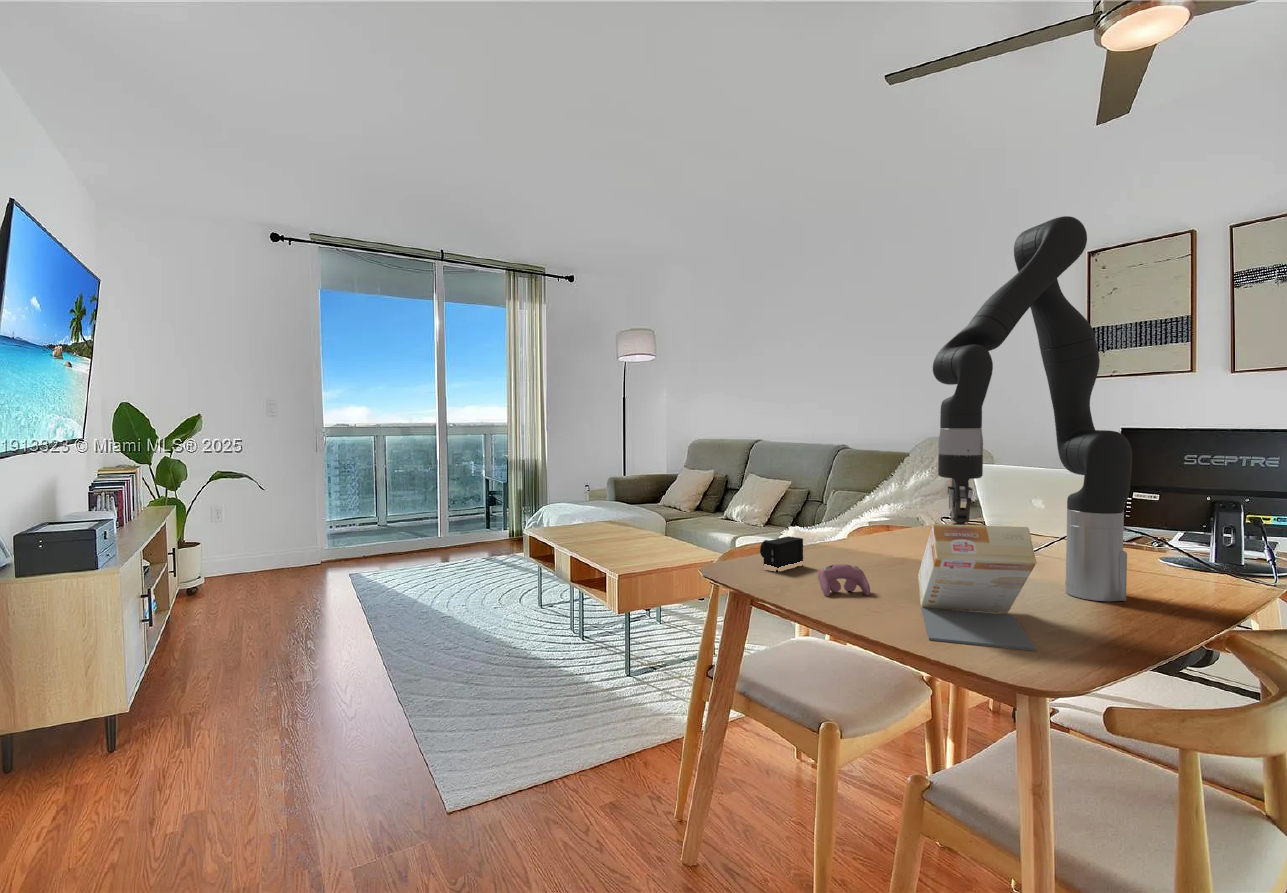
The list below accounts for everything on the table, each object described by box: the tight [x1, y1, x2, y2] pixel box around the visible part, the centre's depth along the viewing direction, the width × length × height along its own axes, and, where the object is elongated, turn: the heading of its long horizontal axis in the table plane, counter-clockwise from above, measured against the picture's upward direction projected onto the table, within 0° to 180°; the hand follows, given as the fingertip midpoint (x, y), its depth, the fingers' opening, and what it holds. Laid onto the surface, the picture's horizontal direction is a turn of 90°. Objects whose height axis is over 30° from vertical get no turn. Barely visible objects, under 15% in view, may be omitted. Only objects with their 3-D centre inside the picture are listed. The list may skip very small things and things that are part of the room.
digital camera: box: [759, 535, 804, 568], centre depth 152 cm, size 10×5×7 cm, turn 132°
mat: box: [920, 606, 1037, 652], centre depth 107 cm, size 15×18×1 cm
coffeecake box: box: [917, 523, 1037, 614], centre depth 110 cm, size 15×7×20 cm
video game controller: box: [817, 563, 871, 597], centre depth 129 cm, size 10×5×7 cm, turn 93°
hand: (958, 543), depth 118 cm, fingers closed
